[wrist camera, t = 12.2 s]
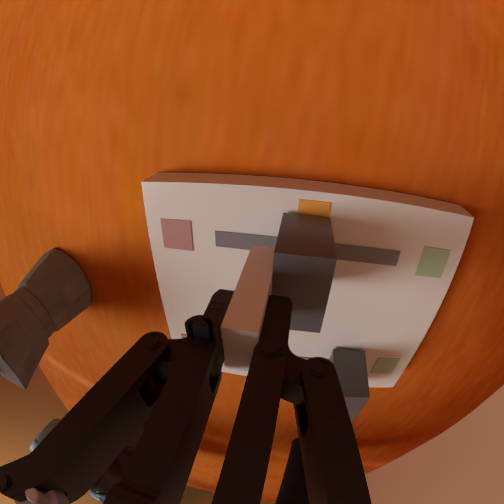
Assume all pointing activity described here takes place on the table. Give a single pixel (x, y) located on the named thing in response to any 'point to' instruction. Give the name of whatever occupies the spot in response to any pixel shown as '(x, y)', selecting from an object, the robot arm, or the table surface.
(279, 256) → the lever
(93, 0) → the table surface
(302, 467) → the drinking cup
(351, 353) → the on lever
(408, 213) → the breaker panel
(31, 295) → the coffeepot
